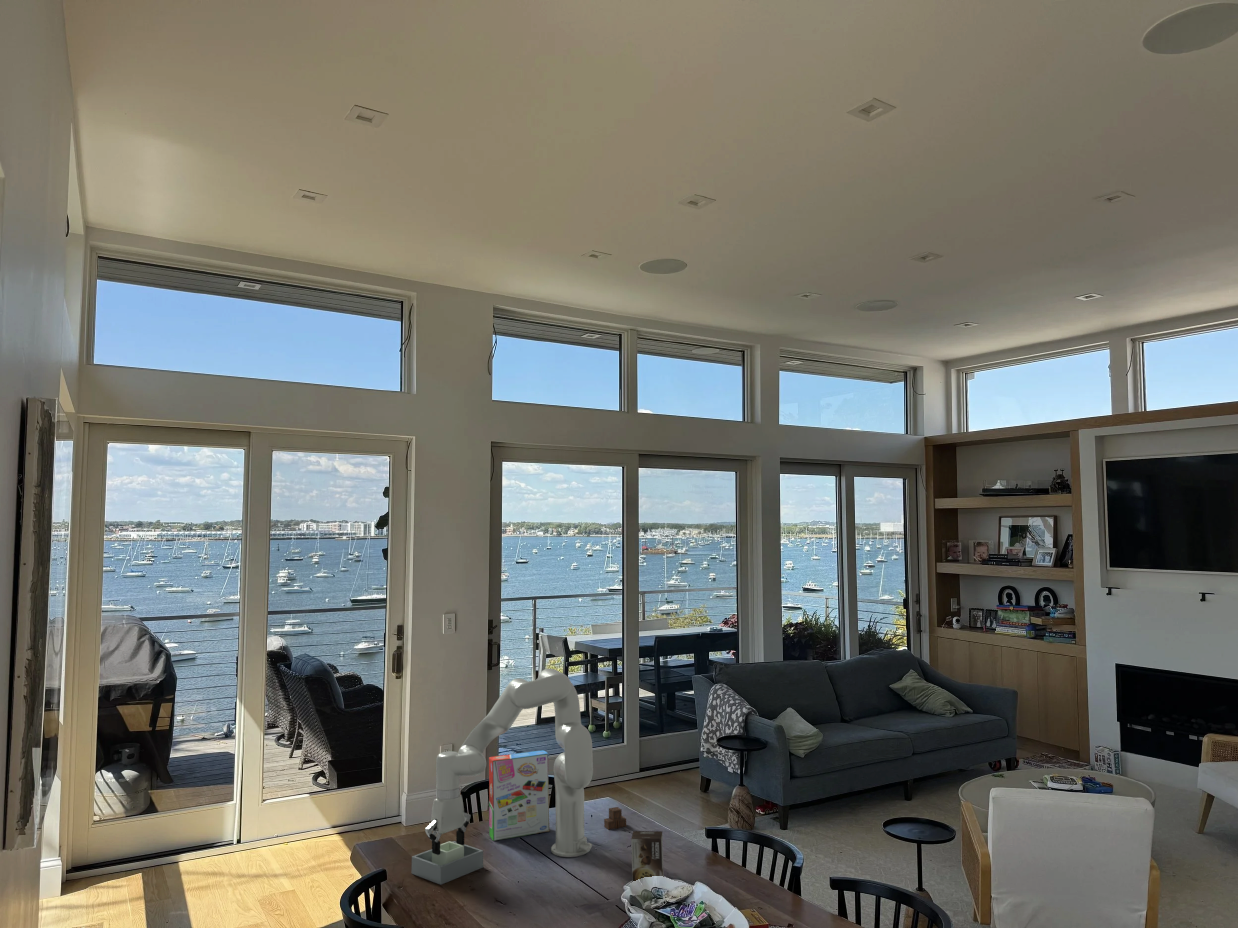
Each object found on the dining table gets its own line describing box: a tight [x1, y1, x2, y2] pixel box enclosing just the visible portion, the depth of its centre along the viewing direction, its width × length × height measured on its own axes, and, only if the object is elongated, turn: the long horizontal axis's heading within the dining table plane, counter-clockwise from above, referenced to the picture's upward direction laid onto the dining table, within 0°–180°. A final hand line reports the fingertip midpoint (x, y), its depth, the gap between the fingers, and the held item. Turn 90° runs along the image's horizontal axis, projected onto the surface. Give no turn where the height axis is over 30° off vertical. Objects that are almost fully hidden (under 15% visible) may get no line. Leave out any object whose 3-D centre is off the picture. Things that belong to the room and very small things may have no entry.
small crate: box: [432, 840, 464, 866], centre depth 264 cm, size 7×7×6 cm
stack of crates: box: [603, 806, 627, 831], centre depth 300 cm, size 15×15×7 cm
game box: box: [488, 749, 550, 842], centre depth 296 cm, size 21×6×27 cm, turn 114°
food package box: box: [630, 830, 665, 882], centre depth 246 cm, size 9×6×16 cm
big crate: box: [411, 840, 484, 886], centre depth 263 cm, size 14×17×6 cm
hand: (448, 848), depth 264 cm, fingers open, 9 cm apart
